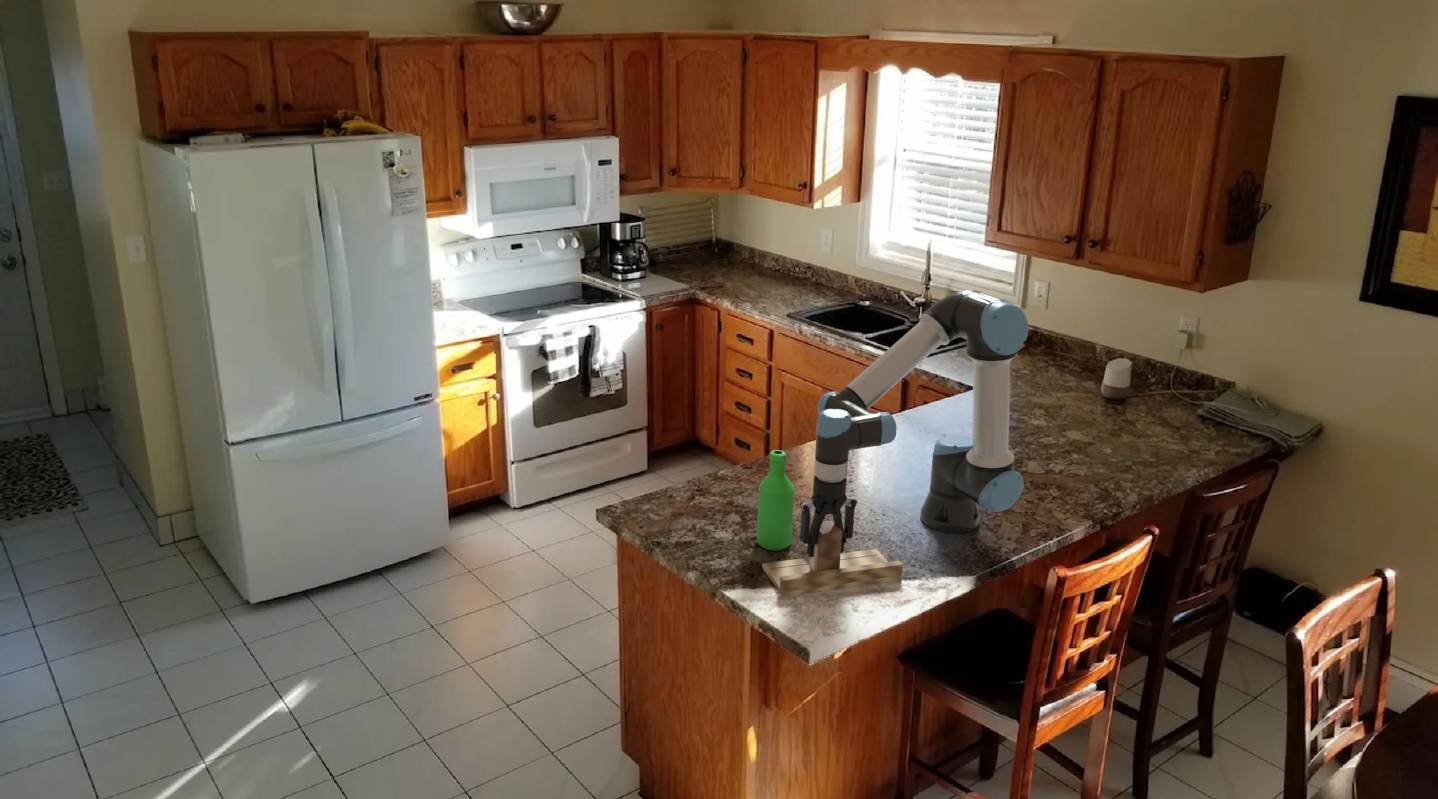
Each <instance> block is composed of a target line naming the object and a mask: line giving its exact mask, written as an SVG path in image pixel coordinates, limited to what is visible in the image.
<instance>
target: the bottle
mask: <svg viewBox="0 0 1438 799" xmlns="http://www.w3.org/2000/svg"><path fill="white" fill-rule="evenodd" d="M787 457H788V456H787V452H785V451H784V450H781V449H780V450H779V449H774V450H771V451H770V453H769V456H768V459H769V473H768V474H767V475H766V476H765V478H764V479H763V480H762V481H761V483H759V485H758V499H757V500H758V501H757V503H758V504H757V521H756V522H757V524H756V525H757V526H756V543H757V544H758V545H759V546H760V547H762V548H763V549H764V550H765V549H766V550H768V551H773V552H776V551H782V550H785V549H787V548H789V546H790V545H792V540H793V539H792V538H793V537H792V536H793V524H794V523H793V521H794V520H793V518H794V507H795V506H794V505H795V503H794V502H795V500H794V499H795V486H794V485H793V483H792V482H791V480H790V479H789V477H788V476H787V474H786V462H787V460H788V458H787Z"/></svg>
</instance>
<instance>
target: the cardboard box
mask: <svg viewBox="0 0 1438 799" xmlns="http://www.w3.org/2000/svg"><path fill="white" fill-rule="evenodd" d="M841 541H842V531H841V530H840V529H839V528H838V527H837V526H836V525H835V524H834V520H823V522H822V525H821V528H820V531H819V534H818V537H817V540H816V543H817V544H818V560H817V570H816V571H824V570H831V569H839V568H840V555H841ZM804 549H805V551H806V554H807V544H804ZM810 569H811V571H812V572H816V571H814V570H813V569H812V568H811V567H810Z"/></svg>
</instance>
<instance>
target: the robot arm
mask: <svg viewBox="0 0 1438 799" xmlns="http://www.w3.org/2000/svg"><path fill="white" fill-rule="evenodd" d="M1028 334H1029V322H1028V318H1027V316H1026V314H1025V312H1024V311H1023V310H1022V309H1021V308H1020V307H1019V306H1017V305H1015V304H1013V303H1011V301H1008V300H1005V299H1001V298H997V297H994V296H992V295H988V294H986V293H983V292H982V291H979V290H974V289H964V290H960V291H956V292H953V293H951V294H949V295H948V296H945V297H943V298H942V299H940V300H938V301H936V302H935V303H933V304H932V305H931V306H930V307H929V308H928V309H926V310H925V311H924V312H923V313H921V314H920V316H919V322H918V323H916V324H915V325H913V327H912V328H911V329H910V330H908V332H906V333H905V334H904V335H903V336H902V337H901V338H899V339H898V340H897V341H896V342H895V343H893V344H892V345H891V347H889V348H888V349H887V350H886V351H885V352H884V353H883V354H882V355H880V356H879V357H878V358H876V359H875V361H874V362H872V363H871V364H870V365H869V366H868V367H867V368H865V369H864V370H863V371H862V372H861V373H860V374H858V375H857V377H855V378H854V379H853V380H852V381H851V382H850V383H848V384H847V385H846V386H845V387H844V388H842V390H840V391H839V392H838V391H829V392H826V393H824V394H823V395H822V396H821V397H820V399H819V400H818V403H817V406H816V407H817V408H816V409H817V414H818V416H817V421H816V428H815V434H816V435H815V437H816V438H815V449H814V450H815V455H814V470H813V473H814V476H813V483H812V484H813V485H812V496H811V497H810V500H808V501H806V502H805V501H803V500H802V501H800V502H799V506H800V509H801V516H800V517H801V518H800V530H799V538H800V540H801V542H802V543H803V544H804V545H805V544H807V551H806V552H807V553H806V554H807V556H808V558H809V557H810V567H811V568H812V569H813V570H814V571H816V570H817V560H818V544H817V543H816V540H817V537H818V534H819V531H820V528H821V525H822V522H823V521H825V518H826V516H828V515H832V518H833V520H832V521H833V522H834V524H835V525H836V526H837V527H838V528H839V529H840V530H841V531H842V541H841V553H845V552H844V551H845V544H846V543H847V541H848V539H852V538H853V536H854V522H855V521H854V520H855V508H856V506H857V504H858V501H857V499H856V498H855V497H853V495H849V496H847V494H846V492H847V480H848V479H847V476H848V465H849V464H848V463H849V455H850V454H849V453H850V451H853V450H860V449H865V448H866V449H867V448H872V447H880V446H883V445H886V444H890V443H893V441H894V440H895V438H896V436H897V423H896V420H895V418H894V416H893V415H892V413H889V412H888V411H877V412H871V411H869V410H868V409H870V408H871V407H872V406H873V405H874V404H875V403H876V402H877V401H879V400H880V399H881V398H882V397H883V396H885V394H886V393H888V392H889V391H890V390H891V389H892V388H893V387H894V386H896V385H897V384H898V383H899V382H900V381H901V380H902V379H903V378H905V377H906V376H907V375H908V374H910V372H911V371H913V369H915V368H916V367H917V366H919V364H921V363H922V361H924V360H925V359H926V358H927V357H928V356H930V354H932V353H933V352H934V351H935V350H936V349H938V348H939V347H940V346H941V345H942V346H946V345H948V344H950V343H951V342H952V341H953V340H955V339H957V338H962V339H964V340H966V355H967V357H968V358H969V359H971V361H972V362H973V365H972V367H973V370H972V372H973V373H972V382H973V383H972V437H968V436H963V435H962V436H960V435H959V436H954V435H953V436H945V437H942V438H939V439H938V440H937V441H935V443H934V448H933V452H932V461H931V463H932V464H931V472H930V483H929V484H930V485H929V491H928V494H927V496H926V498H925V499H924V500H925V501H924V503H923V505H922V506H921V509H920V517H919V518H920V520H921V522H922V523H923V524H924V525H926V526H927V527H929V528H930V529H933V530H937V531H940V532H945V533H951V534H953V533H954V534H956V533H957V534H958V533H959V534H960V533H962V534H963V533H966V532H970V531H973V530H976V529H977V527H978V526H979V519H980V516H979V510H978V506H977V505H979V507H981V508H983V509H986V510H988V511H990V512H994V513H1000V512H1003V511H1005V510H1007V509H1009V508H1011V507H1012V506H1013V505H1015V503H1016V501H1018V500H1019V498H1020V497H1021V495H1022V492H1023V489H1024V484H1025V483H1024V478H1023V476H1022V474H1020V472H1018V471H1016V470H1015V454H1014V453H1013V452H1012V451H1011V450H1009V432H1010V431H1009V428H1010V426H1009V424H1010V387H1011V383H1010V382H1011V361H1013V360H1014V359H1015V358H1016V357H1017V355H1018V351H1020V350H1021V349H1022V348H1023V346H1024V342H1026V340H1027V339H1028ZM844 504H845V509H844V524H843V519H842V516H843V515H842V510H841V508H842V507H843V506H844ZM813 506H814V508H815V509H814V513H813V514H814V515H813V518H812V522H811V512H812V507H813Z"/></svg>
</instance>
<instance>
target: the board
mask: <svg viewBox="0 0 1438 799" xmlns="http://www.w3.org/2000/svg"><path fill="white" fill-rule="evenodd" d="M761 567H762V569H763V571H764V572H765V574H766V576H768V578H769V580H770V581H771V583H772V584H773V585H774V587H775V588H776V589H777V591H778V592H779V594H780V595H781V596H782V597H791V596H796V595H804V594H811V593H819V592H827V591H833V590H841V589H847V588H855V587H861V586H868V585H877V584H883V583H888V582H889V583H891V582H898V581H902V574H903V573H902V572H903V563H902V562H901V561H900V560H892V561H888V559H886V558H885V557H884V555H883V554H882V553H881V552H880V551H879V550H878V549H877V548H874V549H873V548H872V549H866V550H865V549H864V550H858V551H857V550H856V551H848V552H843V553H841V555H840V568H839V569H831V570H824V571H816V572H812V571H811V569H810V557H809V556H808V557H803V558H797V559H796V558H795V559H787V560H780V561H779V560H777V561H772V562H765V563H762V566H761Z"/></svg>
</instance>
